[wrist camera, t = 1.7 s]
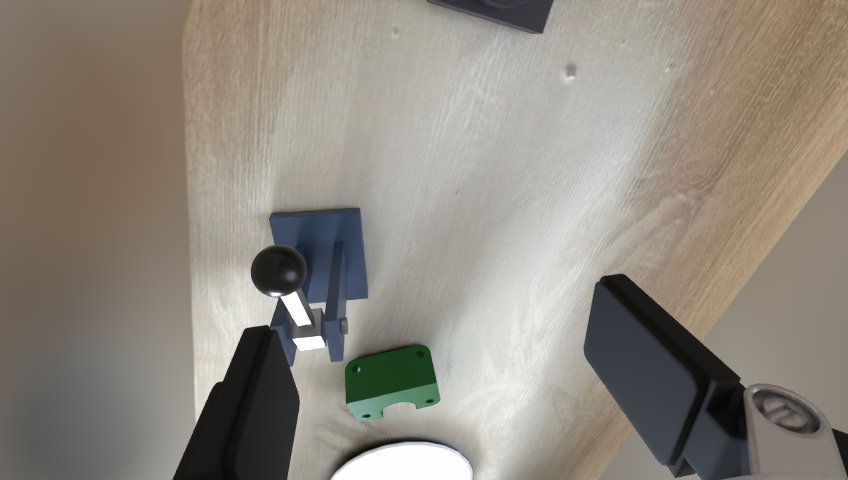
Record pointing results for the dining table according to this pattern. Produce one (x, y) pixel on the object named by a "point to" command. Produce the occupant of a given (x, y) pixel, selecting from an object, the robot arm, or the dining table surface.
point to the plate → (407, 463)
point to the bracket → (323, 270)
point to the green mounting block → (390, 381)
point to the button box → (505, 12)
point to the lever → (290, 292)
